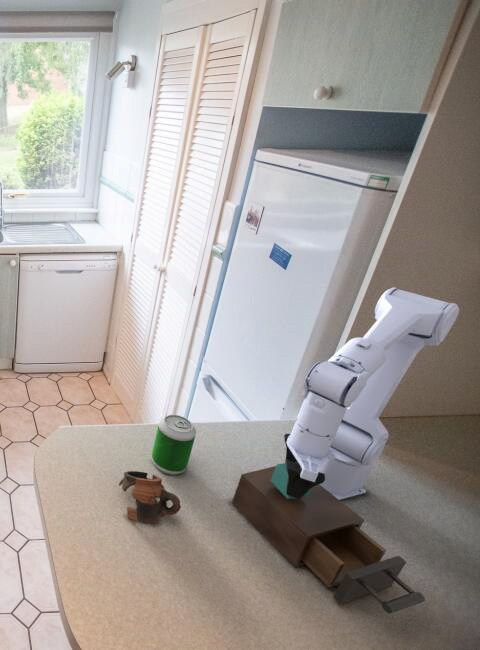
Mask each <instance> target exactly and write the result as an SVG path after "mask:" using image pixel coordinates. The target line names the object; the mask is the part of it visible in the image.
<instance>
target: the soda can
mask: <svg viewBox="0 0 480 650" xmlns="http://www.w3.org/2000/svg"><path fill="white" fill-rule="evenodd" d="M196 435H197V428H196V427H195V426H194V424H193V423H192V421H191V420H189V419H188V418H186V417H185V416H182V415H180V414H179V415H178V414H168V415H166V416H163V417H162V418H161V417H160V419H159V421H158V425H157V429H156V434H155V438H154V443H153V447H152V450H151V451H152V452H151V461H152V463H153V465H154V466H155V467H156V468H157V469H158V471H160V472H162V473H164V474H168V475H171V476H173V475H179V474H182V473H184V472H186V470H187V468H188V465H189V461H190V457H191V453H192V450H193V447H194V442H195V440H196Z"/></svg>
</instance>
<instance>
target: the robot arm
mask: <svg viewBox="0 0 480 650" xmlns="http://www.w3.org/2000/svg"><path fill="white" fill-rule="evenodd" d="M459 313H460V308H459V305H458V303H455V302H447V301H443V300H440V299H437V298H432V297H428V296H425V295H422V294H417V293H414V292H411V291H407V290H404V289H403V290H402V289H399V287H395V286H393V287H391V288H389V289H387V290H385V291H384V292H383V293H382V295H381V296H380V298H379V299H378V300H377V303H376V305H375V308H374V314H375V315H374V319H375V320H376V321H375V322H374V323H373V324H372V325H371V327H370V328H369V329H368V331H367V332H366V333H365V334H364V335H363V337H354V338H351V339H349V340H348V341H347V342H346V343H345V344H344V345H343V346H341V348H340V349H339V350H337V351H336V352H335V354H333V355H332V356H331V357H330V358H329V359H327V360H325V361H323V362H322V361H317V362H316V363H314V364H313V365H312V366H311V368H310V369H309V371H308V372H307V374H306V376H305V378H304V381H303V392H302V394H301V396H302V398H303V401H302V404H301V406H300V409H299V412H298V415H297V417H296V420H295V422H294V425H293V428H292V430H291V433H285V434H284V435H283V436H284V443H285V449H286V451H285V461H284V463H286V468H287V472H288V481H287V486H286V493H287V495H289V496H291V497H294V498H297V499H300V498H302V497H303V496H304V495H305V494H306V493H307V492H308V491H309V490H310V489H311V488H312V487H314V486H316V485H318V484H320V485H321V486H322V487H323V488H325V489H326V490H327V491H329V492H330V493H331V494H332V495H334V496H335V497H336V498H337V499H339V500H340V501H341V500H345V499H348V498H352V497H356V496H359V495H362V494H366V493H367V490H366V489H365V488H364V485H365V483H366V480H367V479H368V476H369V475H370V472H371V471H372V469H373V464H375V462H376V461H377V460H378V459H379V457H380V456H381V455H382V453H383V451H384V449H385V447H386V443H387V441H388V439H389V438H390V437H389V435H390V433H389V431H388V430H387V428H386V427H385V425H384V424H383V423H382V421H381V419H380V416H381V414H382V413H383V411H384V409H385V408H386V406H387V405H388V403H389V401H390V400H391V398H392V396H393V394H394V393H395V391H396V389H397V388H398V386H399V385H400V384H401V383H400V382H401V381H402V379H403V378H404V376H405V374H406V373H407V372H408V370H409V368H410V366H411V365H412V363H413V361H414V360H415V358H416V356H417V355H418V354H419V352H420V351H421V350H422V349H423V348H425V347H426V346H430V347H431V346H432V347H438V346H439V345H440V343H442V342H443V341H444V340H445V338H446V337H447V335H448V333H449V332H450V330H451V329H452V327H453V325H454V324H455V322H456V320H457V318H458V316H459ZM295 462H298V463H295Z"/></svg>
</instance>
